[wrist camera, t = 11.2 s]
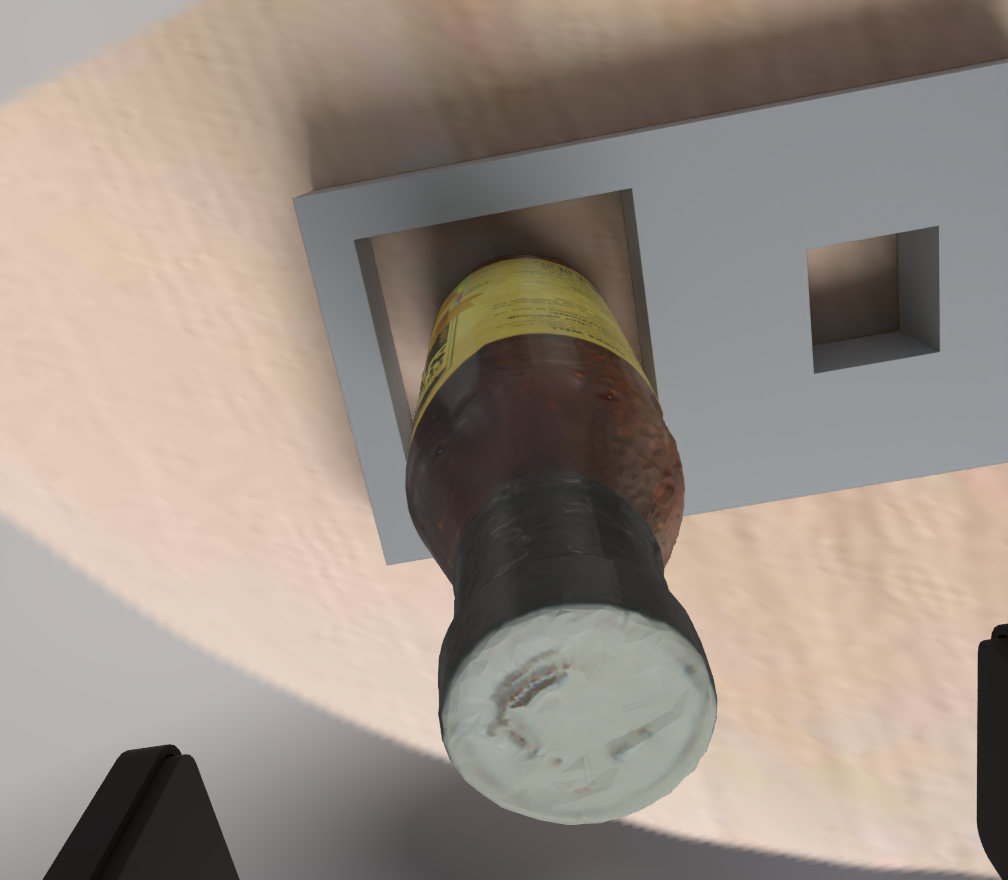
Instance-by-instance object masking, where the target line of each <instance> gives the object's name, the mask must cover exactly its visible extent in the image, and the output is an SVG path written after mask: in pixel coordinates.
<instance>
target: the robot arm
mask: <svg viewBox="0 0 1008 880" xmlns="http://www.w3.org/2000/svg"><path fill="white" fill-rule="evenodd" d="M977 828H978V833H979V837H980V840H981V843H982V846H983V848H984V850H985V853H986V854H987V856H988V858H989V860H990V861H991V863H992V864H993V866H994V868H995V869H996V871H997V872H998V874H999V875H1000V877H1001V879H1002V880H1008V624H1002V625H998V626H996V627H995V628H994V630H993V632H992V636H991V639H990V640H983V641H982V642H980V644H979V647H978V708H977ZM43 880H240V879H239V877H238V874H237V871H236V869H235V866H234V864H233V861H232V858H231V856H230V853H229V850H228V847H227V845H226V842H225V839H224V837H223V834H222V831H221V829H220V826H219V823H218V821H217V818H216V815H215V812H214V810H213V807H212V804H211V802H210V799H209V796H208V794H207V791H206V789H205V786H204V783H203V780H202V778H201V775H200V772H199V770H198V767H197V764H196V762H195V760H194V758H193V757H191V756H190V755H187V754H186V755H182V754H181V752H180V750H179V749H178V748H177V747H176V746H175V745H162V746H155V747H148V748H141V749H134V750H128V751H126V752H123V753H122V754H121V755H120V756H119V758H118V759H117V760H116V762H115V763H114V765H113V767H112V768H111V770H110V772H109V773H108V775H107V776H106V778H105V780H104V781H103V783H102V785H101V786H100V788H99V789H98V791H97V792H96V794H95V796H94V797H93V799H92V801H91V802H90V804H89V806H88V807H87V809H86V810H85V812H84V813H83V815H82V817H81V818H80V820H79V822H78V823H77V825H76V827H75V828H74V830H73V831H72V833H71V834H70V836H69V838H68V839H67V841H66V843H65V844H64V846H63V847H62V849H61V851H60V852H59V854H58V856H57V857H56V859H55V860H54V862H53V864H52V865H51V867H50V868H49V870H48V872H47V874H46V875H45V877H44V878H43Z"/></svg>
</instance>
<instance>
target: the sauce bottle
mask: <svg viewBox="0 0 1008 880" xmlns="http://www.w3.org/2000/svg"><path fill="white" fill-rule="evenodd" d="M405 491H406V499H407V505H408V511H409V514H410V517H411V519H412V522H413V525H414V527H415V529H416V531H417V533H418V535H419V537H420V539H421V540H422V542H423V543H424V544H425V546H426V547H427V549H428V550H429V552H430V553H431V555H432V556H433V558H434V559H435V560H436V562H437V563H438V565H439V566H440V568H441V569H442V571H443V572H444V574H445V575H446V576H447V578H448V579H449V581H450V582H451V584H452V585H453V591H454V596H455V600H454V619H453V621H452V622H451V624H450V626H449V628H448V631H447V633H446V635H445V638H444V640H443V643H442V647H441V652H440V655H439V667H438V689H439V712H438V715H439V722H440V728H441V735H442V741H443V743H444V746H445V748H446V751H447V753H448V756H449V759H450V760H451V762H452V763H453V764H454V766H455V767H456V769H457V770H458V772H459V773H460V774H461V776H462V777H463V778H464V779H465V781H466V782H468V783H469V784H470V785H471V786H473V787H474V788H475V789H476V790H478V791H479V792H480V793H481V794H483V795H484V796H486V797H487V798H489V799H490V800H491V801H493V802H494V803H495V804H497V805H498V806H500V807H502V808H505V809H508V810H511V811H514V812H517V813H520V814H522V815H525V816H529V817H532V818H535V819H539V820H544V821H550V822H554V823H560V824H566V825H575V824H586V823H602V822H605V821H608V820H612V819H616V818H621V817H624V816H627V815H630V814H632V813H635V812H638V811H640V810H642V809H644V808H646V807H648V806H650V805H651V804H653V803H654V802H656V801H657V800H659V799H660V798H662V797H664V796H666V795H668V794H670V793H671V792H672V791H673V790H674V789H675V788H676V787H677V786H678V785H679V784H680V782H681V781H682V780H683V779H684V778H685V777H686V776H688V775H689V774H690V773H692V772H693V771H694V770H695V769H696V767H697V764H698V762H699V760H700V758H701V757H702V756H703V755H704V753H705V752H706V751H707V748H708V745H709V742H710V739H711V737H712V734H713V731H714V726H715V722H716V718H717V695H716V690H715V684H714V679H713V675H712V672H711V669H710V666H709V663H708V660H707V657H706V654H705V652H704V649H703V646H702V643H701V641H700V639H699V636H698V634H697V632H696V630H695V628H694V626H693V623H692V621H691V619H690V618H689V616H688V614H687V612H686V610H685V609H684V608H683V606H682V605H681V604H680V603H679V602H678V600H677V599H676V598H675V597H674V596H673V595H672V593H671V592H670V591H669V589H668V586H667V583H666V580H665V578H664V568H665V566H666V564H667V562H668V560H669V559H670V556H671V553H672V550H673V546H674V545H675V543H676V539H677V537H678V534H679V529H680V525H681V522H682V517H683V510H684V495H685V484H684V475H683V470H682V463H681V460H680V454H679V452H678V450H677V444H676V440H675V439H674V437H673V436H672V434H671V433H670V431H669V429H668V428H667V426H666V425H665V421H664V420H663V411H662V408H661V405H660V403H659V401H658V399H657V397H656V395H655V393H654V391H653V389H652V387H651V385H650V383H649V381H648V379H647V377H646V375H645V373H644V372H643V370H642V368H641V366H640V364H639V362H638V360H637V359H636V357H635V355H634V353H633V351H632V349H631V347H630V345H629V343H628V341H627V339H626V337H625V336H624V334H623V332H622V330H621V328H620V326H619V324H618V322H617V320H616V319H615V317H614V315H613V313H612V312H611V310H610V308H609V306H608V305H607V303H606V301H605V299H604V298H603V297H602V296H601V294H600V293H599V292H598V290H597V289H596V288H595V287H594V286H593V285H592V284H591V283H590V282H589V281H588V280H587V279H586V278H585V277H584V276H582V275H581V274H579V273H578V272H576V271H574V270H573V269H571V268H570V267H569V265H567V264H565V263H563V262H560V261H558V260H556V259H555V258H545V257H542V256H532V255H509V256H503V257H497V258H494V259H493V260H491V261H488V262H486V263H484V264H481V265H479V266H478V267H477V268H476V269H475V270H474V271H472V272H471V273H470V274H469V275H468V276H466V277H465V279H464V280H463V281H462V282H461V283H459V284H458V286H457V287H456V288H455V289H454V290H453V291H452V292H451V293H450V294H449V295H448V297H447V298H446V299H445V300H444V302H443V304H442V306H441V308H440V310H439V312H438V315H437V317H436V320H435V322H434V326H433V330H432V335H431V340H430V345H429V350H428V355H427V360H426V365H425V369H424V372H423V375H422V382H421V387H420V394H419V398H418V401H417V407H416V410H415V419H414V423H413V426H412V432H411V438H410V442H409V447H408V457H407V464H406V476H405Z"/></svg>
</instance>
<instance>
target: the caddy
mask: <svg viewBox="0 0 1008 880" xmlns="http://www.w3.org/2000/svg"><path fill="white" fill-rule="evenodd" d="M619 190H620V192H621V200H622V208H623V215H624V223H625V231H626V239H627V246H628V254H629V262H630V269H631V277H632V285H633V292H634V300H635V308H636V315H637V323H638V331H639V338H640V346H641V354H642V361H643V369H644V373H645V375H646V377H647V379H648V381H649V383H650V385H651V387H652V389H653V391H654V393H655V395H656V397H657V399H658V401H659V403H660V405H661V408H662V411H663V420H664V421H665V425H666V426H667V428H668V429H669V431H670V433H671V434H672V436H673V437H674V439H675V440H676V444H677V450H678V452H679V454H680V460H681V463H682V470H683V475H684V484H685V495H684V510H683V516H688V515H694V514H700V513H706V512H712V511H718V510H724V509H730V508H736V507H742V506H749V505H755V504H761V503H767V502H773V501H779V500H785V499H791V498H797V497H803V496H809V495H815V494H821V493H827V492H833V491H839V490H845V489H851V488H857V487H863V486H869V485H875V484H881V483H887V482H893V481H900V480H906V479H912V478H918V477H924V476H930V475H936V474H942V473H948V472H954V471H960V470H966V469H972V468H978V467H984V466H990V465H996V464H1002V463H1008V58H1006V59H1000V60H995V61H990V62H985V63H980V64H974V65H969V66H964V67H959V68H953V69H948V70H943V71H938V72H932V73H927V74H922V75H917V76H911V77H906V78H901V79H896V80H890V81H885V82H880V83H875V84H869V85H864V86H859V87H854V88H848V89H843V90H838V91H833V92H827V93H822V94H817V95H812V96H806V97H801V98H796V99H791V100H786V101H780V102H775V103H770V104H765V105H759V106H754V107H749V108H744V109H738V110H733V111H728V112H723V113H717V114H712V115H707V116H702V117H696V118H691V119H686V120H681V121H675V122H670V123H665V124H660V125H654V126H649V127H644V128H639V129H633V130H628V131H623V132H618V133H613V134H607V135H602V136H597V137H592V138H586V139H581V140H576V141H571V142H565V143H560V144H555V145H550V146H544V147H539V148H534V149H529V150H523V151H518V152H513V153H508V154H502V155H497V156H492V157H487V158H481V159H476V160H471V161H466V162H460V163H455V164H450V165H445V166H440V167H434V168H429V169H424V170H419V171H413V172H408V173H403V174H398V175H392V176H387V177H382V178H377V179H371V180H366V181H361V182H356V183H350V184H345V185H340V186H335V187H329V188H324V189H319V190H314V191H311V192H308V193H306V194H303V195H301V196H298V197H296V198H293V203H294V207H295V210H296V214H297V218H298V222H299V226H300V230H301V234H302V238H303V242H304V246H305V249H306V253H307V257H308V261H309V265H310V269H311V273H312V277H313V281H314V284H315V288H316V292H317V296H318V300H319V304H320V308H321V312H322V316H323V320H324V323H325V327H326V331H327V335H328V339H329V343H330V347H331V351H332V355H333V358H334V362H335V366H336V370H337V374H338V378H339V382H340V386H341V390H342V394H343V397H344V401H345V405H346V409H347V413H348V417H349V421H350V425H351V429H352V432H353V436H354V440H355V444H356V448H357V452H358V456H359V460H360V464H361V468H362V471H363V475H364V479H365V483H366V487H367V491H368V495H369V499H370V503H371V507H372V510H373V514H374V518H375V522H376V526H377V530H378V534H379V538H380V542H381V545H382V549H383V553H384V557H385V561H386V565H392V564H398V563H404V562H410V561H416V560H422V559H428V558H433V556H432V555H431V553H430V552H429V550H428V549H427V547H426V546H425V544H424V543H423V542H422V540H421V539H420V537H419V535H418V533H417V531H416V529H415V527H414V525H413V522H412V519H411V517H410V514H409V511H408V505H407V499H406V491H405V476H406V464H407V457H408V447H409V442H410V438H411V432H412V426H413V424H412V420H411V415H410V411H409V407H408V402H407V398H406V394H405V389H404V385H403V381H402V376H401V372H400V368H399V363H398V359H397V355H396V350H395V346H394V342H393V337H392V333H391V329H390V324H389V320H388V316H387V311H386V307H385V303H384V298H383V294H382V290H381V285H380V281H379V277H378V272H377V268H376V264H375V259H374V255H373V251H372V246H371V242H370V238H369V237H373V236H378V235H383V234H389V233H394V232H399V231H405V230H410V229H415V228H421V227H426V226H431V225H437V224H442V223H447V222H453V221H458V220H464V219H469V218H474V217H480V216H485V215H490V214H496V213H501V212H506V211H512V210H517V209H522V208H528V207H533V206H538V205H544V204H549V203H554V202H560V201H565V200H570V199H576V198H581V197H586V196H592V195H597V194H603V193H608V192H613V191H619ZM895 233H897V249H898V290H899V331H893V332H888V333H882V334H876V335H871V336H865V337H859V338H853V339H848V340H842V341H836V342H831V343H825V344H819V345H813V346H812V335H811V319H810V302H809V285H808V269H807V252H806V250H807V249H812V248H818V247H823V246H829V245H835V244H840V243H846V242H851V241H857V240H862V239H868V238H873V237H879V236H884V235H890V234H895Z"/></svg>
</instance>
